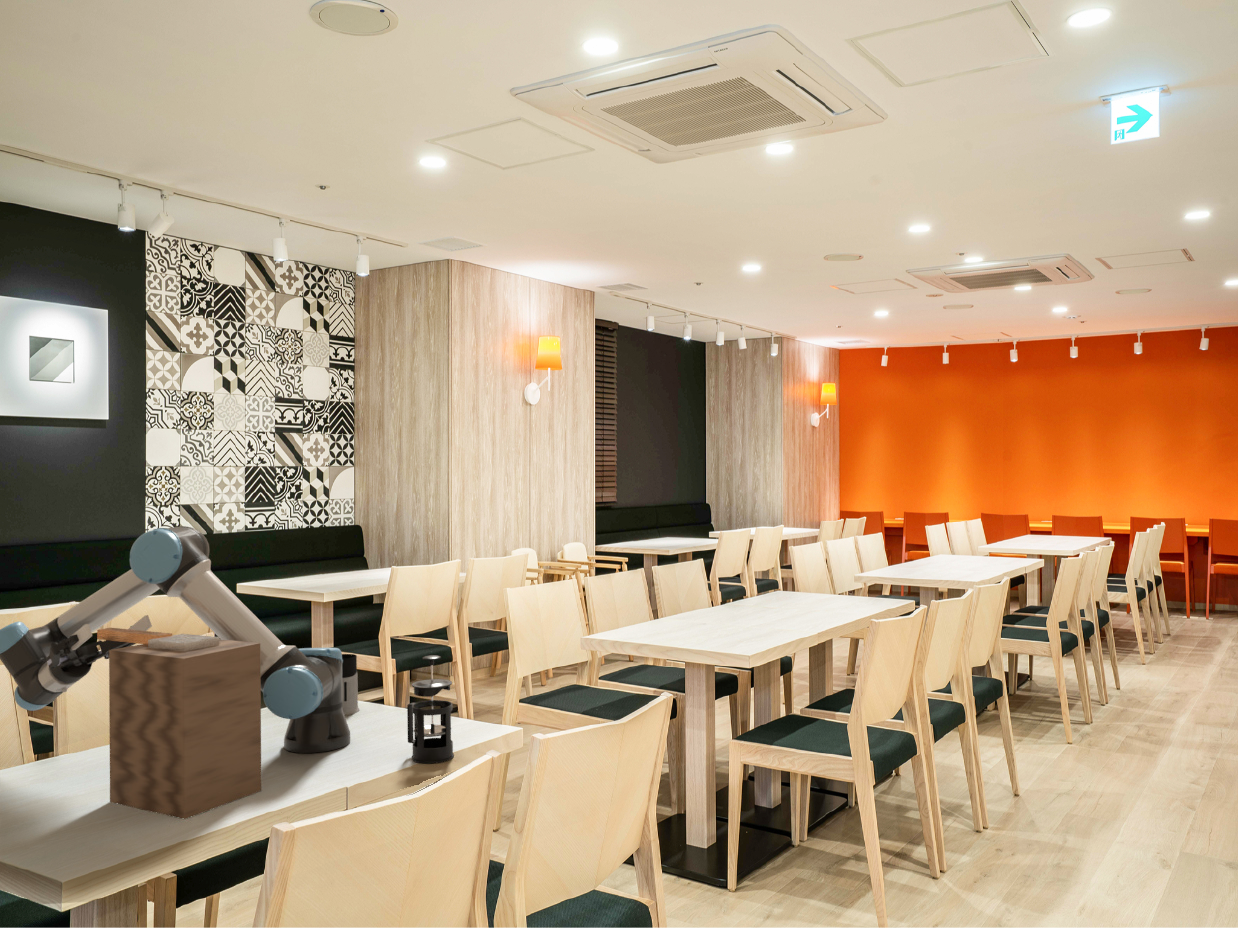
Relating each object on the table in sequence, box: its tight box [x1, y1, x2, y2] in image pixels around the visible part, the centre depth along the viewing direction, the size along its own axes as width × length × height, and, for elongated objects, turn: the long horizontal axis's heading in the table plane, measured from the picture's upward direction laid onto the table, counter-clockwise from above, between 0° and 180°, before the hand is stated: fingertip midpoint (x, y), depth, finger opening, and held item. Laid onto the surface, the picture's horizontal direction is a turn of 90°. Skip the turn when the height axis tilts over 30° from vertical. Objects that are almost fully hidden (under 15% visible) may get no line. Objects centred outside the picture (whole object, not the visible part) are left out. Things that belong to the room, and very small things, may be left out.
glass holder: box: [342, 653, 360, 716], centre depth 258 cm, size 9×14×15 cm, turn 2°
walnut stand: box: [108, 638, 262, 820], centre depth 192 cm, size 22×18×30 cm
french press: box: [406, 654, 455, 765], centre depth 216 cm, size 12×9×23 cm
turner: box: [96, 627, 220, 652], centre depth 197 cm, size 31×8×2 cm, turn 62°
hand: (119, 625), depth 201 cm, fingers open, 13 cm apart
